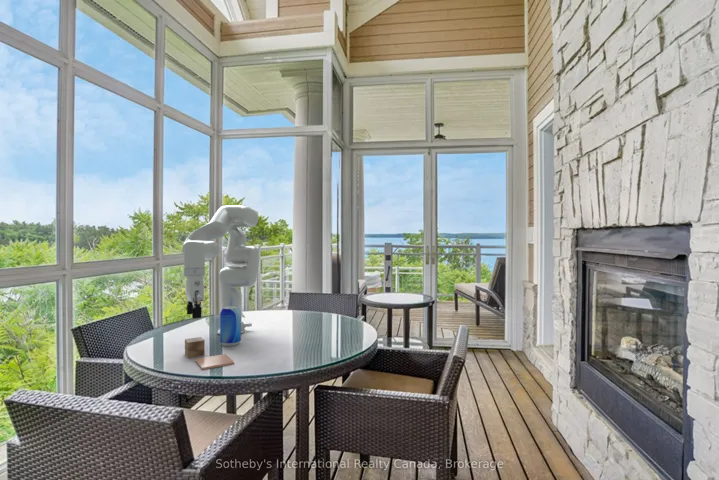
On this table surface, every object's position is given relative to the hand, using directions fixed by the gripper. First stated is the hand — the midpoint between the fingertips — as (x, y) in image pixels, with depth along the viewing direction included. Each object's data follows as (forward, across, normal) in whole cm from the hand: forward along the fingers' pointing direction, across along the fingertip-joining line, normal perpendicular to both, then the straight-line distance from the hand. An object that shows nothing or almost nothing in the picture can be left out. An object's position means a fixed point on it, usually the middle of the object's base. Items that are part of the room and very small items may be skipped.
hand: (194, 315), depth 149 cm
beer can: (+15, +8, -16) cm, 24 cm away
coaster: (+16, -13, -4) cm, 21 cm away
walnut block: (+16, +1, 0) cm, 16 cm away
